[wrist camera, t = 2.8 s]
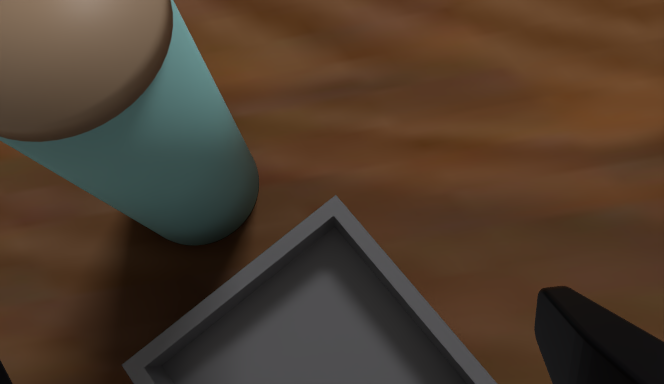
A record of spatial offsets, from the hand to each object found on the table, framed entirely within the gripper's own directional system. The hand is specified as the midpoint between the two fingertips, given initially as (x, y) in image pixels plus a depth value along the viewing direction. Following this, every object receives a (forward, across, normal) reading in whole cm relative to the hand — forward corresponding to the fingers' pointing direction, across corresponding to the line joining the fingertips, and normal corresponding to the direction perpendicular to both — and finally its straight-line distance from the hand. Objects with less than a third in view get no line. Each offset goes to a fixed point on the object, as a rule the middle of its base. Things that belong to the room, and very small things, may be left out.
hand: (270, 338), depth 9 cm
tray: (+9, 0, +11) cm, 14 cm away
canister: (+15, +5, +4) cm, 16 cm away
